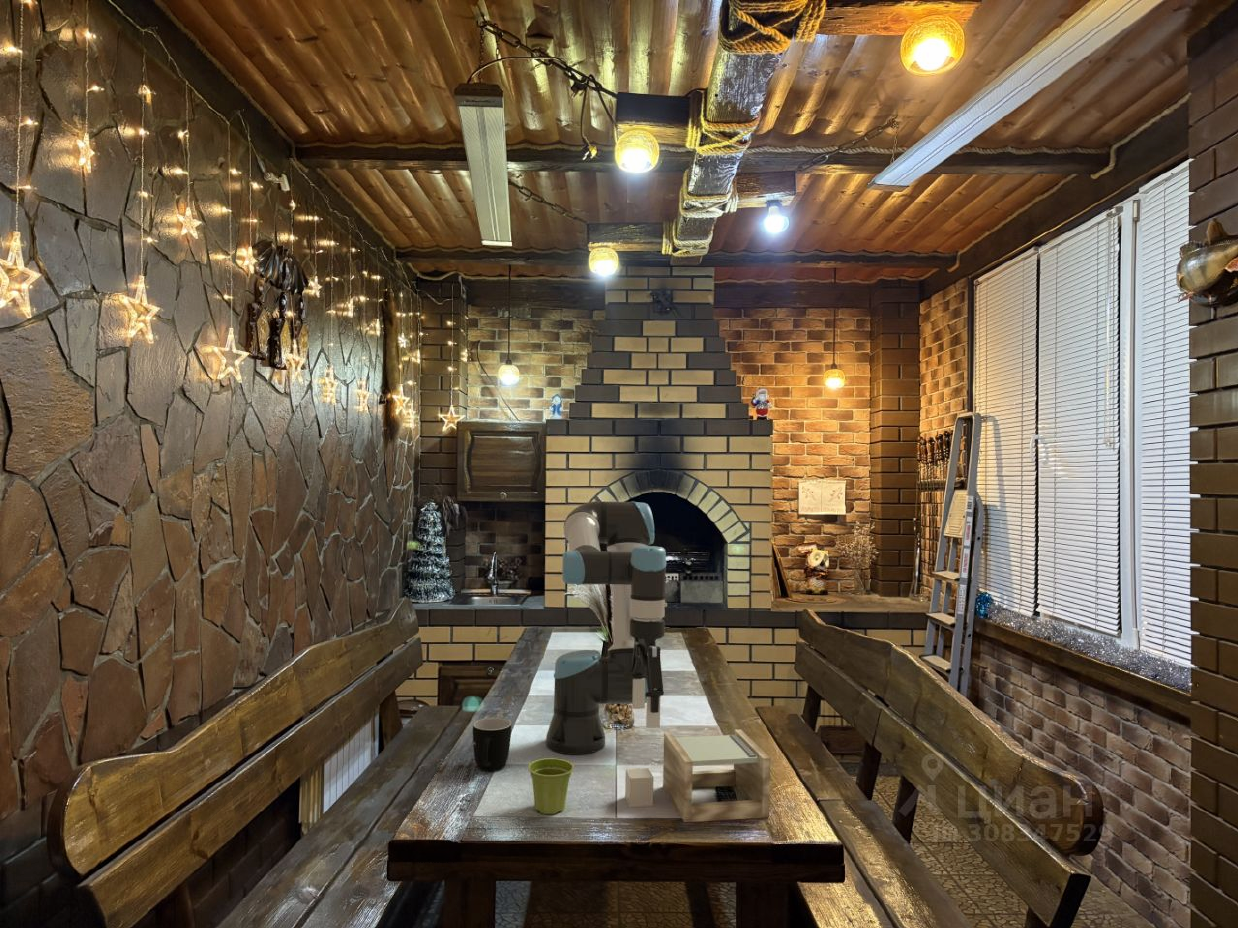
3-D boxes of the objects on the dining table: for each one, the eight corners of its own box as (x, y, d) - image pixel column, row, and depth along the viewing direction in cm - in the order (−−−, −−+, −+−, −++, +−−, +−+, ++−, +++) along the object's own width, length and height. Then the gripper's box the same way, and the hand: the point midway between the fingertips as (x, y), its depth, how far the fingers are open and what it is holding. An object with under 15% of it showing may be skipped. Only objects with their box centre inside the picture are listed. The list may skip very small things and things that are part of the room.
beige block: (629, 807, 162) (630, 778, 162) (625, 797, 166) (625, 769, 167) (652, 805, 162) (653, 777, 163) (647, 796, 167) (648, 768, 167)
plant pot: (573, 798, 165) (574, 758, 165) (572, 818, 156) (573, 775, 156) (529, 798, 165) (530, 757, 165) (525, 818, 155) (526, 774, 155)
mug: (476, 758, 187) (477, 716, 187) (513, 760, 186) (514, 718, 186) (464, 778, 175) (465, 733, 175) (503, 779, 174) (504, 734, 174)
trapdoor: (692, 765, 157) (692, 759, 157) (674, 742, 171) (674, 736, 171) (757, 762, 160) (757, 755, 160) (735, 739, 174) (735, 733, 174)
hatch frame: (684, 822, 155) (685, 762, 155) (662, 786, 173) (664, 732, 173) (769, 816, 158) (770, 757, 158) (739, 782, 176) (740, 729, 176)
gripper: (679, 628, 155) (677, 735, 155) (650, 608, 180) (648, 700, 179) (643, 629, 154) (641, 736, 153) (619, 609, 178) (617, 701, 178)
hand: (645, 717), depth 166 cm, fingers open, 13 cm apart
